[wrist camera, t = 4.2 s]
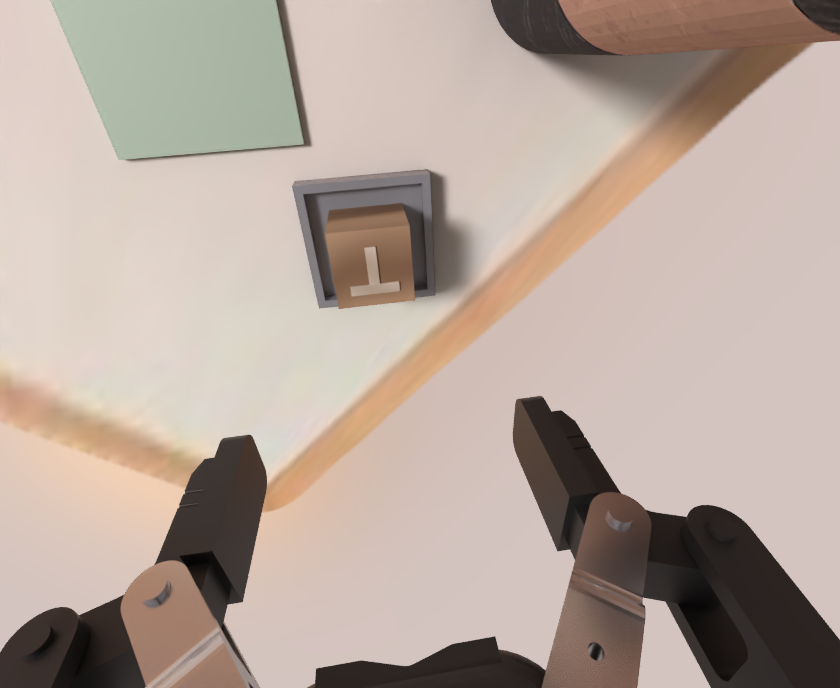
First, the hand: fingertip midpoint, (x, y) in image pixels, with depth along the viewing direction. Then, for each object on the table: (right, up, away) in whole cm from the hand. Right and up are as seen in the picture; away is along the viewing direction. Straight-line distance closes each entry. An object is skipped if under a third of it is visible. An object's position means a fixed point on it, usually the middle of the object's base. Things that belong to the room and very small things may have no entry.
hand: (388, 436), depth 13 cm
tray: (-2, +10, +15) cm, 18 cm away
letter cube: (-2, +9, +14) cm, 17 cm away
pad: (-11, +18, +8) cm, 22 cm away
